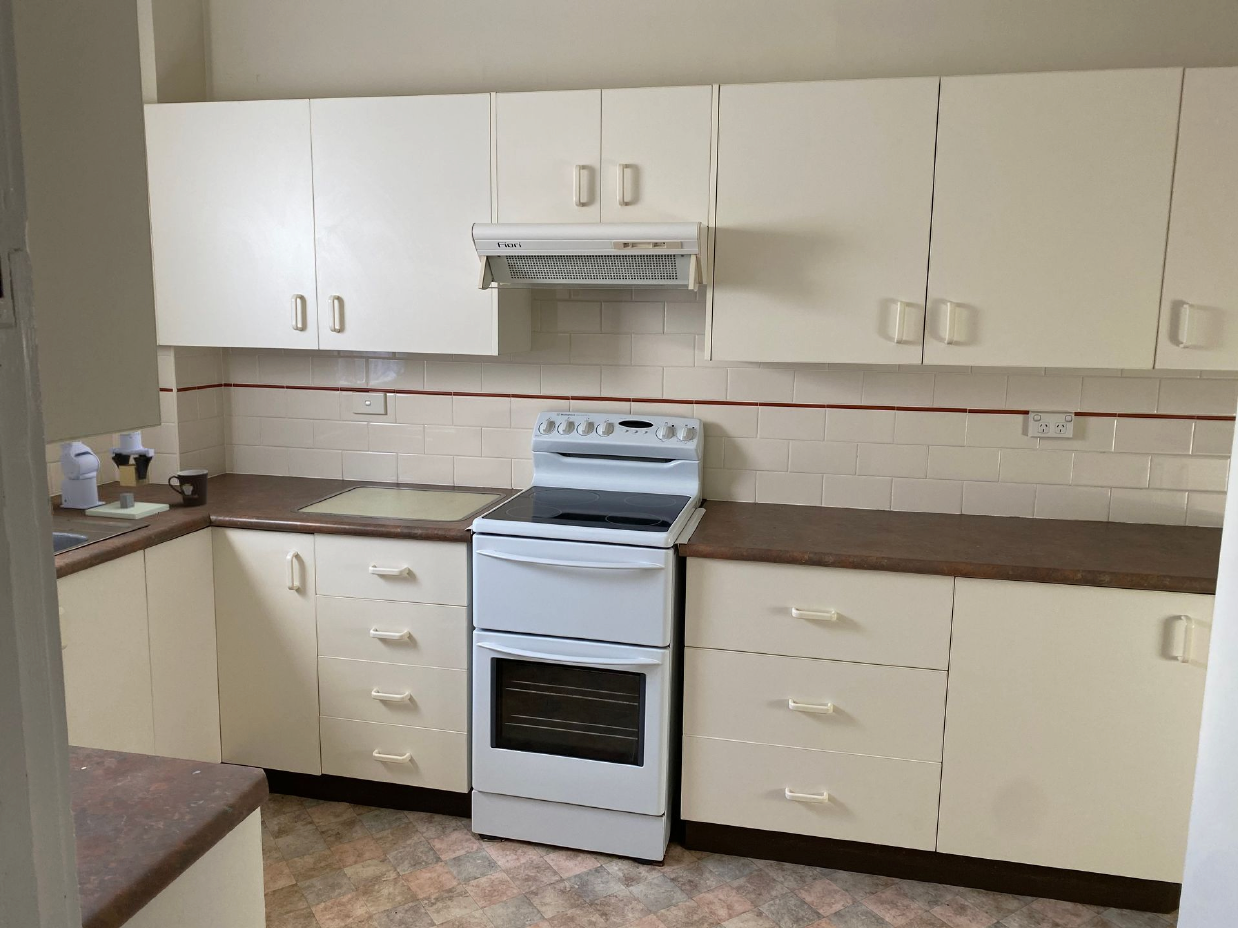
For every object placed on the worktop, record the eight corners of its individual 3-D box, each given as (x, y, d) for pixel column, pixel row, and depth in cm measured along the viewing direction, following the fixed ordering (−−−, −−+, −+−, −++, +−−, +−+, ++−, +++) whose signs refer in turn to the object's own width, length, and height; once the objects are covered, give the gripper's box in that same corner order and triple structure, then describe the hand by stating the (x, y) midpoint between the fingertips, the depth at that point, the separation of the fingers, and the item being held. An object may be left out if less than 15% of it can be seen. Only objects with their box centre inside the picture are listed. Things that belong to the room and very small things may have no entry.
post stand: (85, 515, 276) (83, 496, 275) (120, 505, 289) (118, 488, 288) (135, 519, 271) (134, 500, 270) (169, 509, 283) (167, 491, 282)
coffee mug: (216, 503, 292) (213, 471, 290) (191, 508, 285) (188, 476, 283) (192, 499, 298) (190, 467, 296) (167, 504, 290) (164, 472, 289)
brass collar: (120, 485, 283) (118, 465, 282) (134, 482, 288) (133, 462, 287) (135, 486, 281) (134, 466, 280) (149, 483, 287) (148, 463, 286)
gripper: (159, 433, 284) (163, 477, 286) (120, 431, 288) (124, 475, 290) (142, 436, 277) (146, 481, 279) (102, 434, 281) (106, 479, 283)
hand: (134, 478), depth 284 cm, fingers closed on brass collar, 6 cm apart
